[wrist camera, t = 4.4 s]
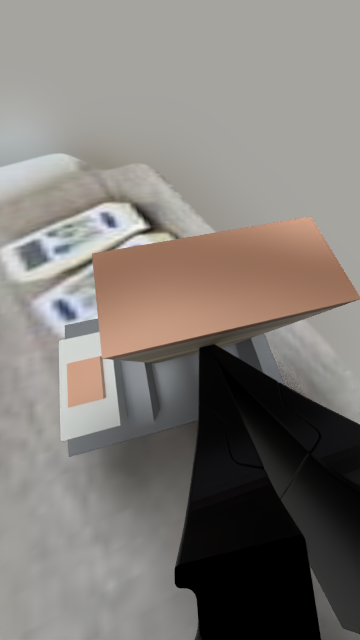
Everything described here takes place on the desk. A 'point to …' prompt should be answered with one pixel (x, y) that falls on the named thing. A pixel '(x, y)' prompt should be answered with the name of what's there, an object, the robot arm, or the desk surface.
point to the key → (214, 289)
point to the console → (132, 389)
